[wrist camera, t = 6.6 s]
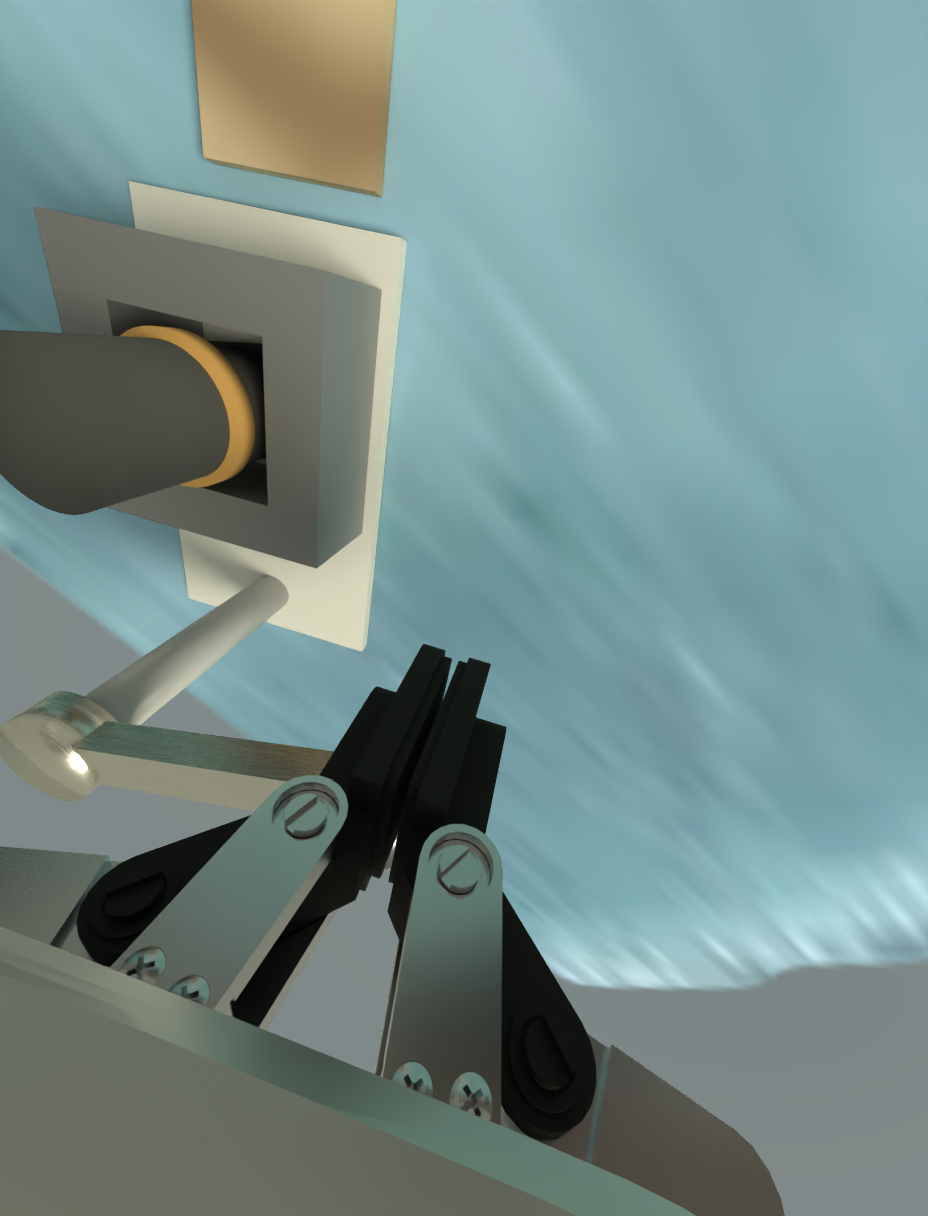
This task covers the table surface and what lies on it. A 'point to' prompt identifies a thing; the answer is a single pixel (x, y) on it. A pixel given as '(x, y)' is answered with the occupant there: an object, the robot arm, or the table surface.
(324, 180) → the cork mat
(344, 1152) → the robot arm
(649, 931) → the table surface
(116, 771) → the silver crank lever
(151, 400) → the plug
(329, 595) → the socket plate
